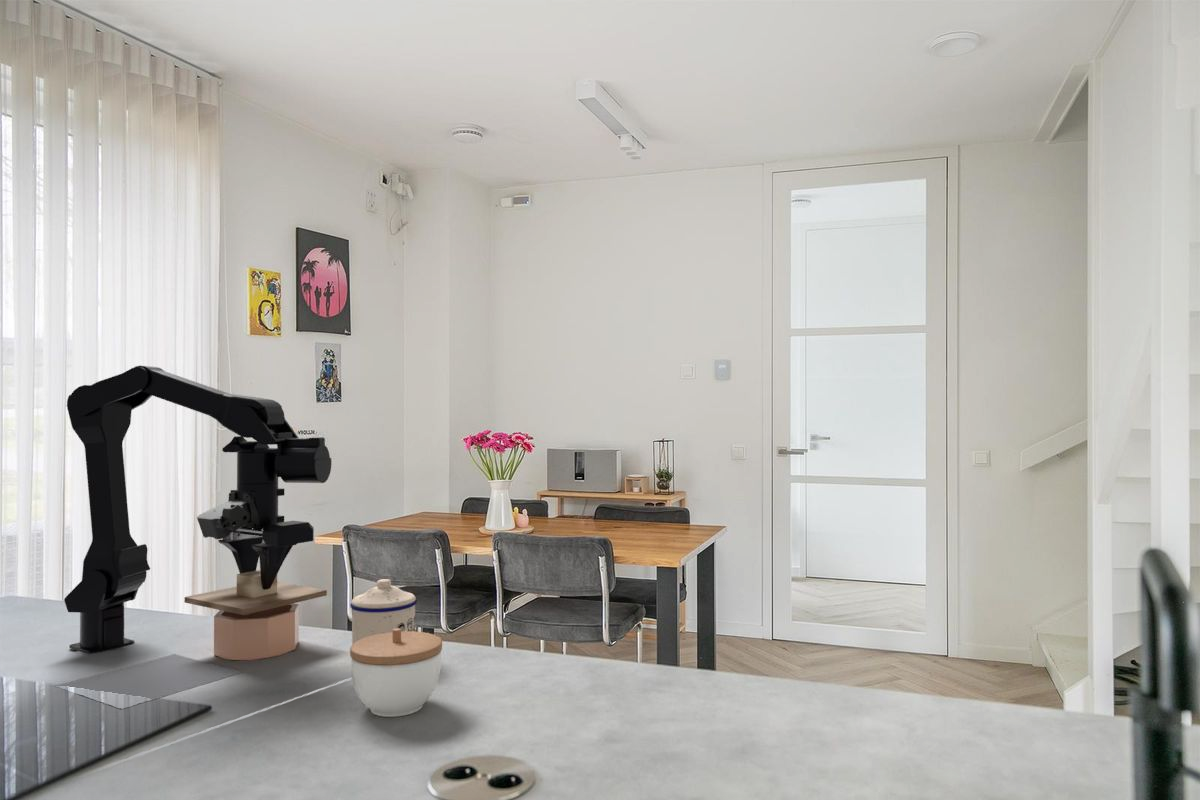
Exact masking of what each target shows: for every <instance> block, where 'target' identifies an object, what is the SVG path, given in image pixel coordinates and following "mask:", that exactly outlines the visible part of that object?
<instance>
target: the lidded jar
mask: <svg viewBox="0 0 1200 800" xmlns="http://www.w3.org/2000/svg"><path fill="white" fill-rule="evenodd" d="M442 650H443V640H442V638H441V637H439V636H438V635H437V634H436V635H435V634H434V633H429V632H422V631H416V630H415V631H401V629H400V628H396V629H393V630H392V632H388V633H382V634H376V635H372V636H368V637H365V638H362V639H360V640H358V641H356V642H355V643H353V644H352V643H351V646H350V648H349V653H350V654H349V656H350V663H351V664H350V665H351V666H350V667H351V678H352V683H353V687H354V690H355V693H356V695H357V696H358V698H359V700H360V701H361V702H362V703H363V705H365V706H366V707H367V708H369V709H370V713H371V714H372V715H375V716H378V717H383V718H397V717H405V716H410V715H412V714H416V713H418V712H419V711H421V709H422V708H423V706H424V704H425V703H426V702H427V701H428V700H429V698H431V696H432V695H433V693H434V691H435V690H436V688H437V685H438V682H439V678H440V674H441V667H442Z"/></svg>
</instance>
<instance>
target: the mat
mask: <svg viewBox="0 0 1200 800" xmlns="http://www.w3.org/2000/svg"><path fill="white" fill-rule="evenodd" d="M242 673H243V672H242V671H239V670H235V669H232V668H229V667H226V666H225V667H224V666H221V665H216V664H213V663H211V662H210V663H209V662H205V661H202V660H197V659H193V658H191V657H187V656H183V655H179V654H176V653H173V654H169V655H166V656H163V657H158V658H155V659H151V660H146V661H142V662H140V663H136V664H131V665H129V666H124V667H121V668H116V669H113V670H109V671H105V672H101V673H98V674H94V675H90V676H87V677H82V678H79V679H75V680H72V681H67V682H64V683H59V684H58V685H59V686H69V687H76V688H84V689H89V690H95V691H104V692H112V693H118V694H126V695H132V696H141V697H146V698H150V699H155V700H157V699H161V698H164V697H167V696H171V695H174V694H178V693H180V692H184V691H186V690H187V691H188V690H190V689H193V688H197V687H200V686H203V685H207V684H210V683H214V682H217V681H220V680H223V679H226V678H229V677H233V676H235V675H240V674H242Z"/></svg>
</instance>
